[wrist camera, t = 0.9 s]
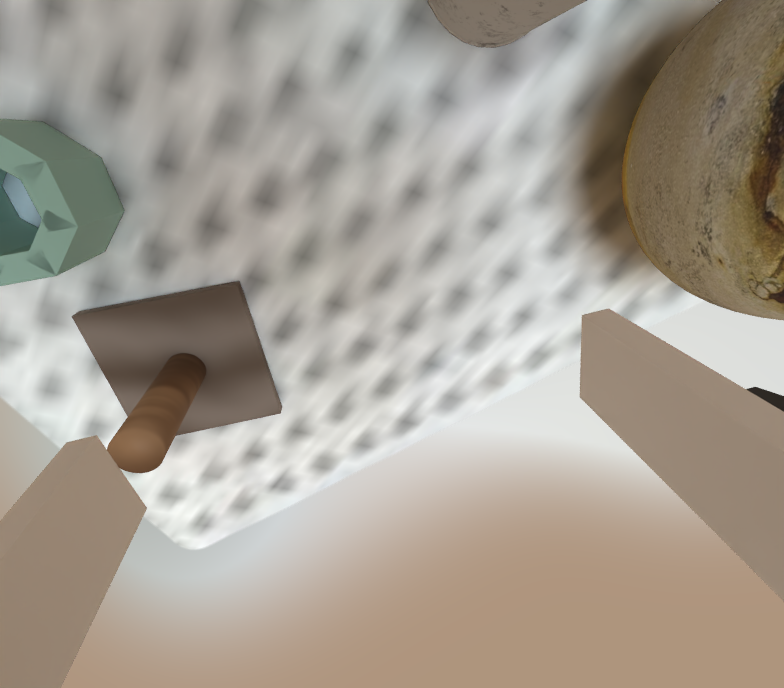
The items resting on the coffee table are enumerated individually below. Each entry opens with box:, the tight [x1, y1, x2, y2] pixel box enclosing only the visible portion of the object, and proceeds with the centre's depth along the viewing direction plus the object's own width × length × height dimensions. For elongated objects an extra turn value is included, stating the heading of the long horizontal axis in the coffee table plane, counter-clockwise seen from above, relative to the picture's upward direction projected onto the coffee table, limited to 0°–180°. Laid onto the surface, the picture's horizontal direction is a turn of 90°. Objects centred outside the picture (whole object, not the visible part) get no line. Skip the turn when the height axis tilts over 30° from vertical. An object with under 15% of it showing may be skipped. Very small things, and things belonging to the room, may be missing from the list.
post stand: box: [72, 281, 282, 473], centre depth 29 cm, size 12×12×11 cm
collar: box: [0, 119, 124, 286], centre depth 24 cm, size 8×8×6 cm
